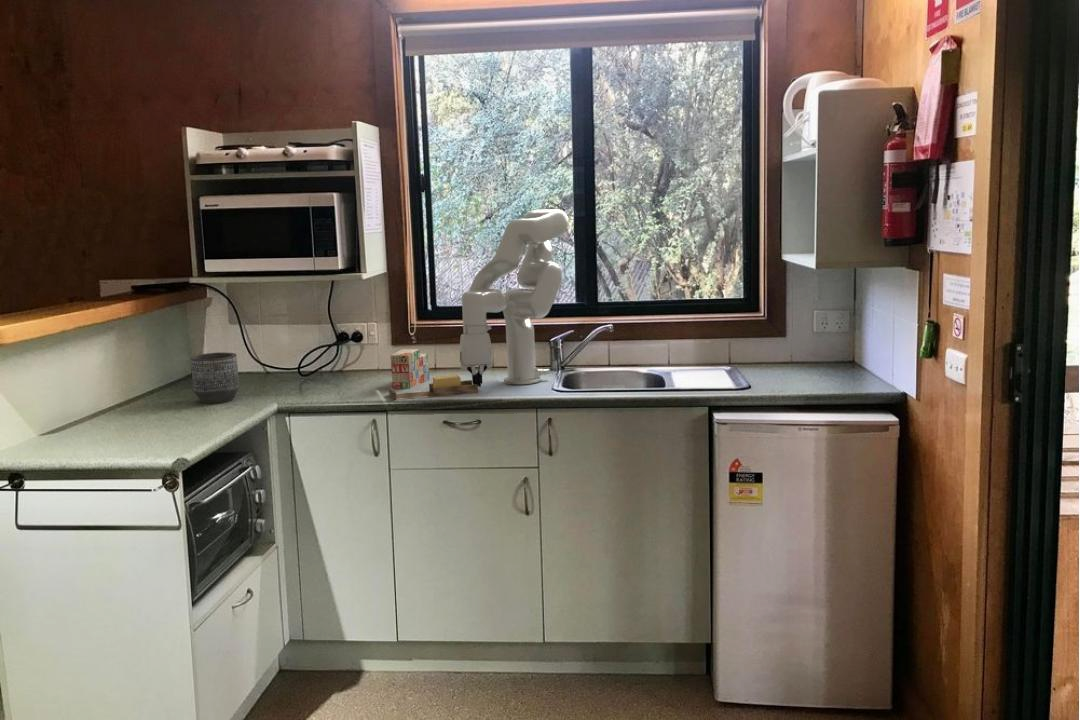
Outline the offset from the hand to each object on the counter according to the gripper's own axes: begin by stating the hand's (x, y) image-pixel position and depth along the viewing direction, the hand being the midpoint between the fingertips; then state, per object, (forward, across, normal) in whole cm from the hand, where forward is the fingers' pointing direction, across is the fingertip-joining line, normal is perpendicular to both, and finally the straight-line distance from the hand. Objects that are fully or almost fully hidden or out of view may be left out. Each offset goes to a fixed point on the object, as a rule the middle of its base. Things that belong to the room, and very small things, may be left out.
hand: (477, 386), depth 306 cm
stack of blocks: (+2, +18, -24) cm, 30 cm away
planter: (+2, +81, -25) cm, 85 cm away
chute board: (+2, +14, 0) cm, 15 cm away
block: (+1, +10, 0) cm, 10 cm away
